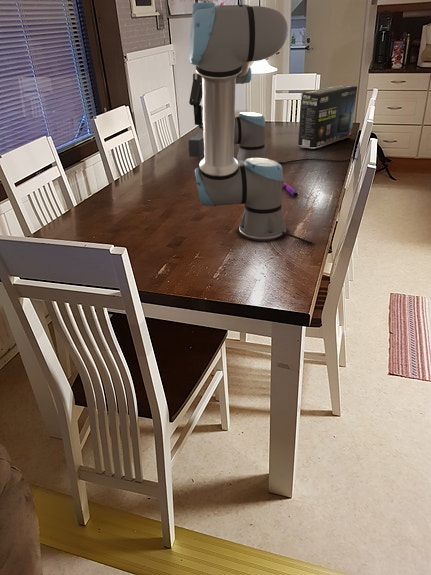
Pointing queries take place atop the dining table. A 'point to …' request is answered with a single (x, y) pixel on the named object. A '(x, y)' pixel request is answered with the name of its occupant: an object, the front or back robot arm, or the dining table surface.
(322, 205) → the dining table surface
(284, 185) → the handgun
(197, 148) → the bar
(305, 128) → the router box
